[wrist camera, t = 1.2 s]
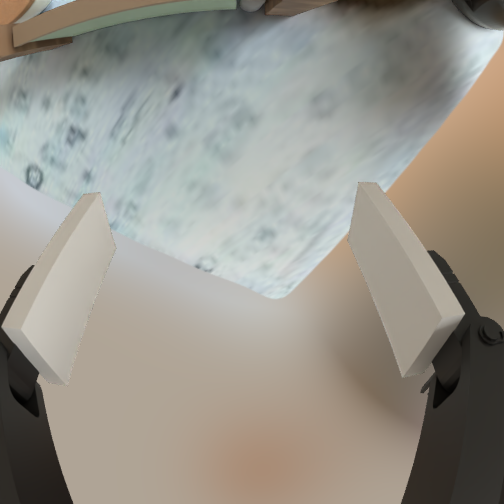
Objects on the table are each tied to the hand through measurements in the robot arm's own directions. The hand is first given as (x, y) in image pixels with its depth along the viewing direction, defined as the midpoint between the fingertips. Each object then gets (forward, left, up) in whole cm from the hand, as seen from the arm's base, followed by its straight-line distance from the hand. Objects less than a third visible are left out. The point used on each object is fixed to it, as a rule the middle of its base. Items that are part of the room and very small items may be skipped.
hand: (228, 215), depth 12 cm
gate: (+7, -11, -25) cm, 29 cm away
